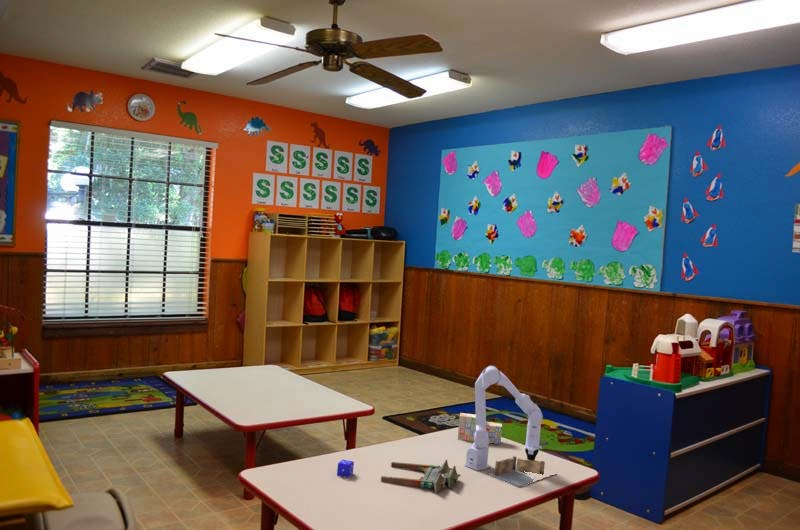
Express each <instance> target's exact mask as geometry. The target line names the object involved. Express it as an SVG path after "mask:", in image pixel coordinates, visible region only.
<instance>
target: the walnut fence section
mask: <svg viewBox="0 0 800 530" xmlns="http://www.w3.org/2000/svg"><path fill="white" fill-rule="evenodd" d="M516 465H517V456H515V455H513V456H512V457H509V458H505V459H502V460H499V461H498V460H496V461H495V467H494V468H495V469H494V472H495V475H496V476H498V475H500V474H503V473H507V472H510V471H513V470H515V468H516Z"/></svg>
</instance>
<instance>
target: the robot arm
mask: <svg viewBox="0 0 800 530" xmlns="http://www.w3.org/2000/svg"><path fill="white" fill-rule="evenodd" d="M494 384H497V386H503V387H504V388H505V389H506V391H508V393H510V394H511V395H512V396H513V397H514V399H515V404H517V406H518V407H519V408H520V409H521V410H522V411H523V412H524V414H526V415H527V416H528V421H527V427H526V437H525V444H524V446H525V449H524V452H525V454H526V459H529V460H535V459H536V458H537V455H538V454H539V449H542V448H543V446H542V445H540V440H541V428H542V426H541V424H542V421H543V418H544V416H543V412H542V411H541V408H539V406H538V404H537V403H534V402H533V400H531V396H530V395H528V394H526V393H521V392H520V391H519V389H517V387H516V386H515V384H513V383H512V381H511V380H510V379H509V378H508V377H507V376H506V375H505V374H504V373H503V371H501V370H499V369H498V368H497V367H496V366H495V365H488V366H487V367H485V368H484V369H483V370H482V371H481V373H480V375H479V376H478V378H477V379H476V381H475V383H474V394H475V395H474V396H475V397H474V399H475V400H474V402H475V404H474V405H475V414H476V431H475V433H474V442H472V446H471V447H470V448H468V449H467V451H466V457H465V459H466V460H465V464H464V466H465V467H467V468H470V469H473V470H474V471H478V472H479V471H483V470H486V469H489V468H491V467H492V465H490V464H488V462H489V461H488V460H489V451H490V446H489V439H488V432H487V430H486V422H487V412H486V410H487V409H486V406H487V405H486V390H487V389H488V388H489V387H490V386H492V385H494ZM535 461H536V460H535Z"/></svg>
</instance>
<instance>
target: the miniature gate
mask: <svg viewBox="0 0 800 530" xmlns="http://www.w3.org/2000/svg"><path fill="white" fill-rule="evenodd" d="M390 464H391V465H390V467H391V468H396V469H401V470H402V469H403V470H408V471H409V470H410V471H418V472H419V471H420V472H421V471H422V472H423V474H424V475H423V476H420V478H408V477H407V478H406V477H396V476H395V477H394V476H385V475H384V476H383V475H382V476H381V477H380V481H381V483H387V484H395V485H400V486H409V487H410V486H412V487H419V488H428V489H432V488H433V489H434V492H435V495H437V496H438V495H439V493H440V491H441V490H442V489H443V488H446V485H445V484H446V483H447V486H448V489H449V491H452V489H453V487H454V485H455V484H456V483H459V477H461V476H462V475H461V474H458V472H457V469H456V467H457V466H456V465H453V468H452V467H449V463H448V459H445V461H444V462H443V463H442V464H441V466H440V465H439V464H438V465H434V464H421V463H418V464H417V463H409V462H408V463H406V462H397V461H392V462H390Z"/></svg>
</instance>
